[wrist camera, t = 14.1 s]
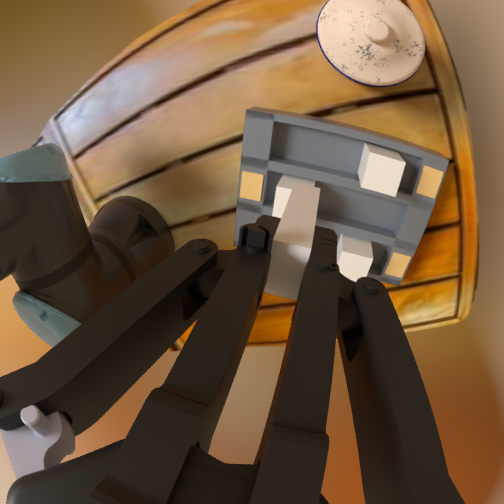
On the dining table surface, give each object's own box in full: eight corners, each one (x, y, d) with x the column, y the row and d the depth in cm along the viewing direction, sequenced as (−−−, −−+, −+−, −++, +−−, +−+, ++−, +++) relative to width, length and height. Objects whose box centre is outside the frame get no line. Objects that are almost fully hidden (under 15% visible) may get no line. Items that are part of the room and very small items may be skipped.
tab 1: (280, 199, 35) (271, 218, 31) (284, 171, 33) (276, 186, 29) (310, 206, 34) (305, 225, 30) (316, 178, 32) (312, 194, 28)
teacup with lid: (417, 71, 23) (456, 69, 14) (346, 97, 28) (351, 105, 18) (363, -20, 19) (374, -62, 10) (292, 8, 23) (269, -25, 14)
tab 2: (335, 253, 37) (333, 277, 33) (342, 228, 35) (342, 251, 31) (361, 259, 36) (363, 284, 32) (370, 236, 34) (373, 259, 30)
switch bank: (241, 232, 41) (232, 246, 38) (254, 106, 31) (245, 109, 28) (396, 269, 37) (399, 286, 34) (439, 152, 27) (449, 161, 24)
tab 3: (357, 171, 30) (360, 187, 26) (364, 141, 28) (369, 152, 24) (387, 180, 30) (395, 196, 26) (396, 150, 28) (405, 162, 24)
